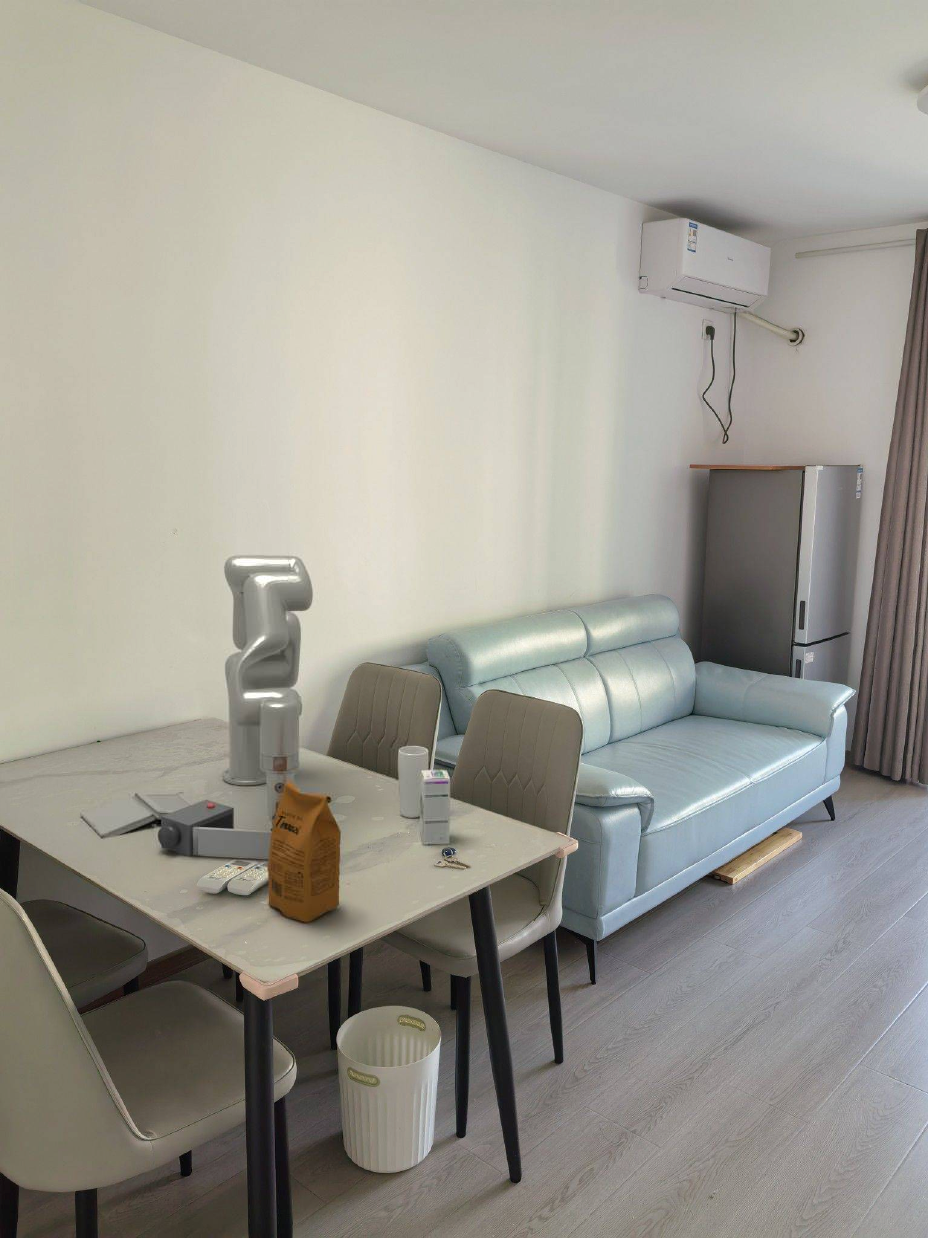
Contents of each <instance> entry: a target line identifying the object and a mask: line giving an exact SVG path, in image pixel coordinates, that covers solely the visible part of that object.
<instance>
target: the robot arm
mask: <svg viewBox="0 0 928 1238" xmlns="http://www.w3.org/2000/svg"><path fill="white" fill-rule="evenodd" d="M223 569H224V577H225V580H226V583H227V585H228V587H229V589H230V591H231V594H232V599H233V602H232V603H233V605H232V607H233V608H232V609H233V610H232V641H233V644H234V646H235V648H237V650H240V651H239V652H235V653H232V654H230V655H229V656H228V657H227V658H226V660H225V664H224V674H225V680H226V686H227V688H226V689H227V695H228V696H227V697H228V720H229V721H228V729H229V730H228V732H229V733H228V737H229V739H228V740H229V742H228V743H229V744H228V745H229V747H228V748H229V753H228V754H229V768H228V769H226V770H224V772H223V773H222V780H223V781H225V782H226V783H229V784H231V785H234V786H235V785H236V786H256V785H262V784H266V785H265V786H266V803H267V812H268V820H269V821H270V822H272V823H271V828H270V831H272V827H273V824H274V820H275V816H276V813H277V810H278V807H279V803H280V799H281V796H282V794H283V791H284V787H285V784H286V783H287V782H289V781H290V782H291V783H292V784H293V785H295V774H294V773H295V772H296V771H297V770H299V768H300V765H299V764H300V717H301V715H302V712H303V700H302V696H301V695H300V694H299V693H298V691H297V690H296V689H294V688H293V687H295V685H296V684H297V682H298V679H299V672H300V660H301V659H300V656H301V643H302V629H301V623H300V619H299V617H298V615H297V614H296V613H294V612H306V611H308V610H309V609H310V607H312V604H313V596H314V595H313V594H314V592H313V591H314V590H313V585H312V581H311V577H310V575H309V573H308V570H307V568H306V566H305V563H304V562H303V560H302V559H301V558H300V557H299V556H294V555H263V554H262V555H261V554H260V555H258V554H257V555H256V554H255V555H252V554H251V555H250V554H246V555H245V554H243V555H238V554H237V555H232V556H230V557H228V558H227V559H226V561H225V562H224V567H223Z"/></svg>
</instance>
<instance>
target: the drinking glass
mask: <svg viewBox="0 0 928 1238" xmlns="http://www.w3.org/2000/svg"><path fill="white" fill-rule="evenodd" d="M397 756H398V757H397V773H398V775H397V776H398V787H399V789H398V790H399V791H398V792H399V793H398V794H399V814H400V815H401V816H402V817H404V818H409V819H413V818H415V819H416V818H420V802H421V771H424V770H429V749H428V748H426V747H423V746H418V745H406V746H402V747H401V748H398V755H397Z"/></svg>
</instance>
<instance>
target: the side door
mask: <svg viewBox="0 0 928 1238" xmlns="http://www.w3.org/2000/svg"><path fill="white" fill-rule="evenodd" d="M271 833H272V831H271V830H258V829H257V830H256V829H241V828H240V829H238V828H237V829H236V828H234V829H225V828H207V827H193V855H192V856H208V857H209V856H210V857H223V858H224V857H225V858H242V859H243V858H244V859H258V860H259V859H261V860H269V850H270V843H271Z"/></svg>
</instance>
